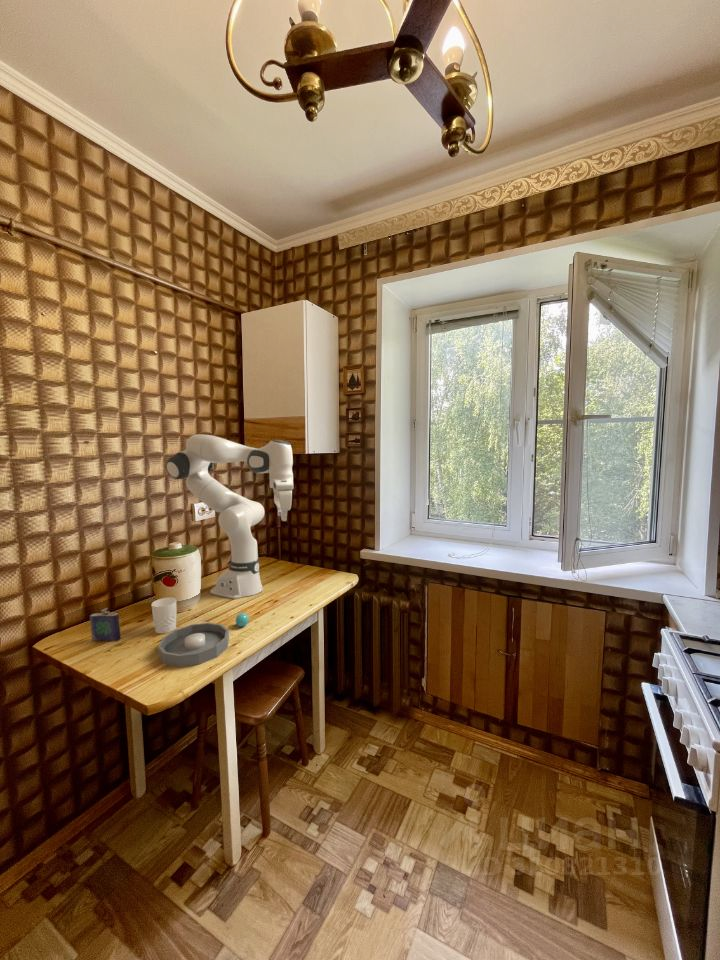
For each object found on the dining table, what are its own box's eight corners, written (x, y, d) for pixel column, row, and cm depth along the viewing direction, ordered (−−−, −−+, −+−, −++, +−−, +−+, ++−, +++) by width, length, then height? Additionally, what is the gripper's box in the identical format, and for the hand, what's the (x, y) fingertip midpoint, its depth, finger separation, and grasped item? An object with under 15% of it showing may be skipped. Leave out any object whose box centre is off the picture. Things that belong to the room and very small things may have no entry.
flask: (90, 642, 127) (87, 610, 126) (96, 637, 130) (93, 607, 129) (117, 641, 127) (115, 610, 126) (123, 637, 130) (121, 606, 129)
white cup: (161, 623, 139) (159, 597, 138) (182, 624, 139) (180, 597, 138) (148, 634, 131) (146, 606, 130) (170, 635, 131) (168, 606, 130)
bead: (233, 628, 135) (232, 615, 135) (240, 622, 139) (239, 610, 139) (244, 629, 134) (243, 617, 133) (251, 623, 138) (250, 611, 138)
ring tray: (144, 661, 115) (143, 650, 115) (191, 629, 134) (190, 620, 134) (200, 671, 110) (200, 659, 109) (240, 636, 129) (240, 626, 128)
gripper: (269, 480, 154) (270, 514, 156) (276, 485, 135) (277, 524, 137) (285, 479, 157) (286, 513, 158) (294, 485, 137) (295, 523, 139)
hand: (282, 518), depth 147 cm, fingers open, 8 cm apart
